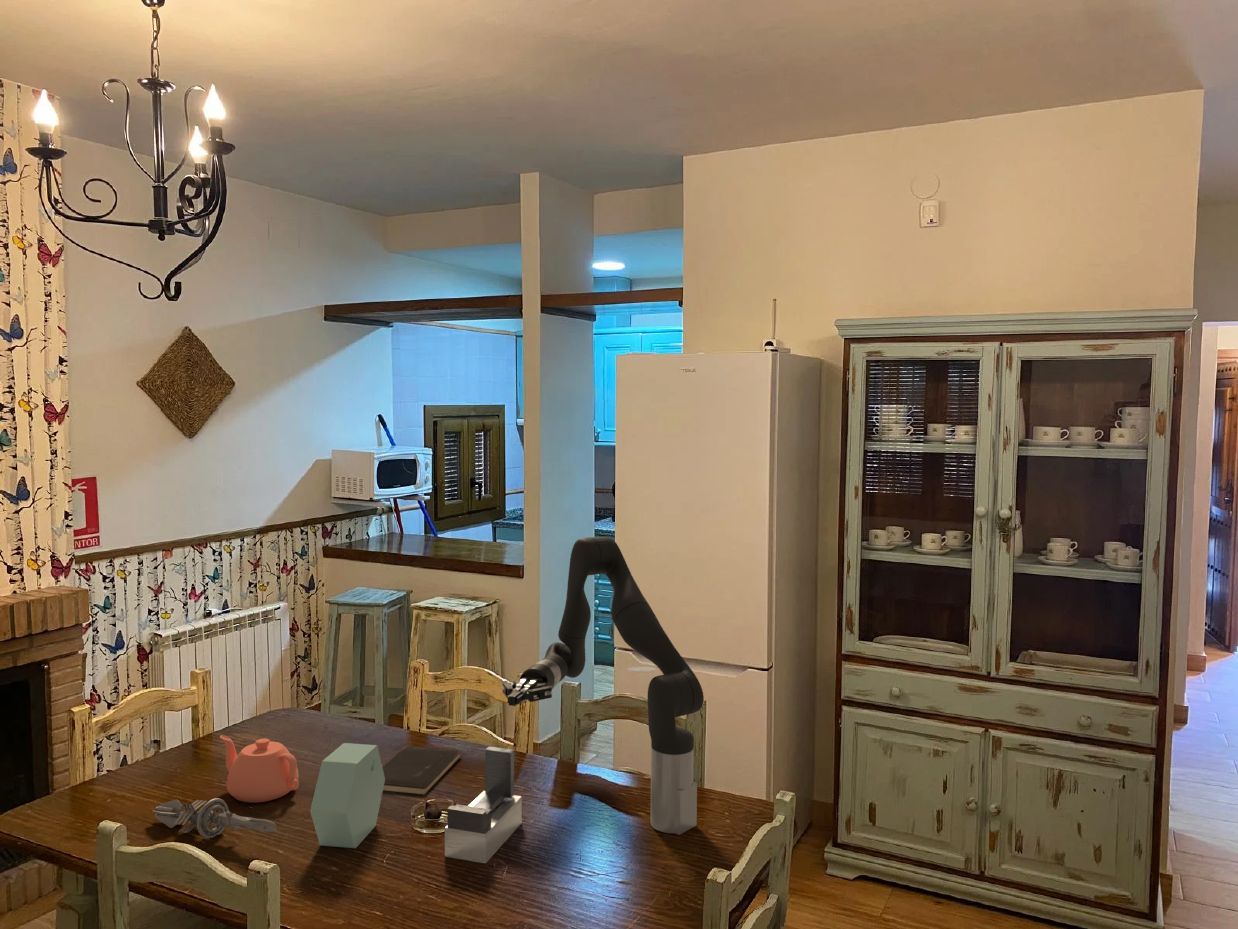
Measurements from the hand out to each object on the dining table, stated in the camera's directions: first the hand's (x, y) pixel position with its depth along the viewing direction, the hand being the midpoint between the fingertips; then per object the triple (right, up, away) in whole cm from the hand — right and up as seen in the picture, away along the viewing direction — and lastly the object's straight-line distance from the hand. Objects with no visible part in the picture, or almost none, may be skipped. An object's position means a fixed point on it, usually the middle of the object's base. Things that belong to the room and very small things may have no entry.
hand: (511, 701), depth 199 cm
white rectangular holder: (-4, -26, -12) cm, 29 cm away
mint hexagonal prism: (-33, -26, -10) cm, 43 cm away
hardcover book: (-27, -24, +22) cm, 42 cm away
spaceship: (-61, -26, -11) cm, 67 cm away
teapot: (-60, -24, +11) cm, 66 cm away
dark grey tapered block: (-3, -19, -9) cm, 22 cm away
